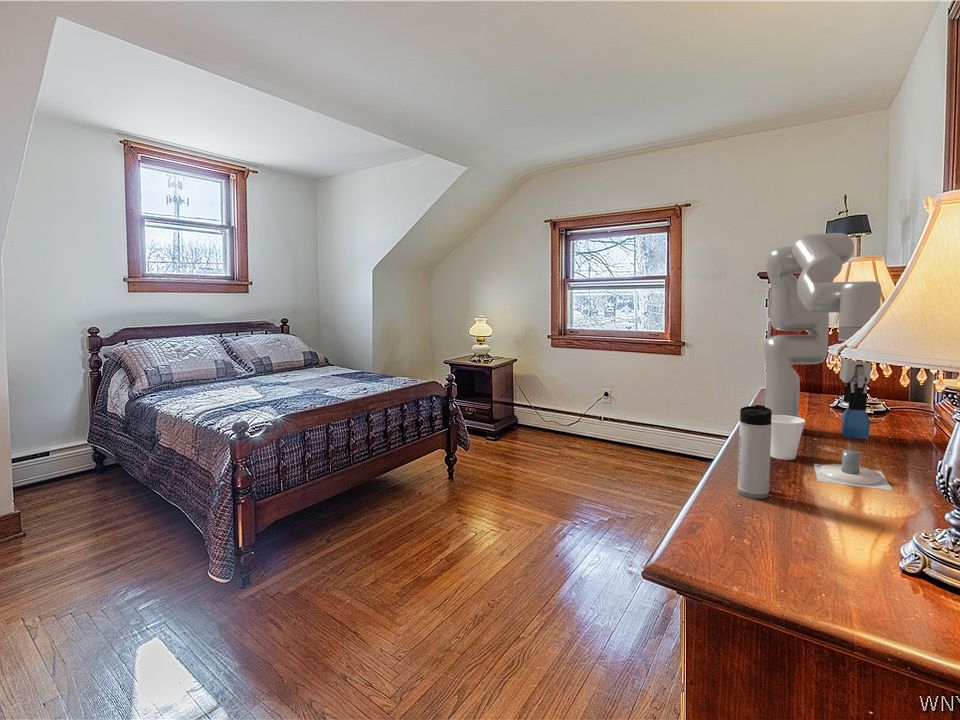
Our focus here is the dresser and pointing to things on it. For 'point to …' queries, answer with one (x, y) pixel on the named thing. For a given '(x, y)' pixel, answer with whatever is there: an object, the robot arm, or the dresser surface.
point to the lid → (851, 470)
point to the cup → (785, 436)
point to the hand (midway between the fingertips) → (854, 405)
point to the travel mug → (754, 451)
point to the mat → (882, 485)
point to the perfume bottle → (855, 424)
